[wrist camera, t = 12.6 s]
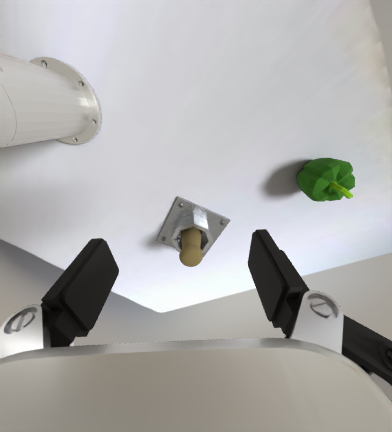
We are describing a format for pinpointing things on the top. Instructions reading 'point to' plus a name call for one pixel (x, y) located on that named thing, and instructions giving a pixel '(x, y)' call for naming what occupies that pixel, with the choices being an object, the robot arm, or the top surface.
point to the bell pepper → (326, 179)
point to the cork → (191, 247)
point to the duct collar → (192, 224)
